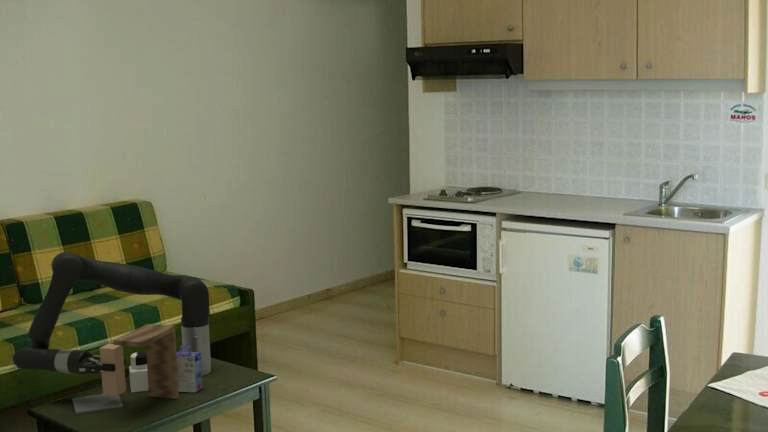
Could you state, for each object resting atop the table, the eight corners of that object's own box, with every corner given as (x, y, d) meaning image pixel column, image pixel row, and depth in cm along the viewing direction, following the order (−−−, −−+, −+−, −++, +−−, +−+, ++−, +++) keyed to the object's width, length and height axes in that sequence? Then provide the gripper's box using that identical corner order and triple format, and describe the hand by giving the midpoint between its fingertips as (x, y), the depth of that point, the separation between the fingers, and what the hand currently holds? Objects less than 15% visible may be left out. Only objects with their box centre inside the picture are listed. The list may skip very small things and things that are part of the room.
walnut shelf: (118, 415, 279) (113, 340, 276) (151, 394, 297) (147, 324, 294) (146, 418, 276) (142, 342, 273) (178, 397, 294) (175, 325, 291)
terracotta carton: (103, 394, 286) (99, 348, 284) (112, 389, 291) (108, 343, 289) (117, 395, 285) (113, 349, 283) (126, 390, 290) (122, 344, 287)
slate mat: (72, 400, 293) (72, 398, 293) (117, 393, 299) (117, 391, 299) (76, 414, 281) (75, 412, 281) (123, 407, 286) (123, 405, 286)
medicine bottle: (152, 383, 308) (150, 349, 306) (153, 390, 301) (151, 354, 300) (130, 386, 306) (128, 351, 304) (131, 392, 299) (129, 357, 297)
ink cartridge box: (203, 387, 303) (201, 345, 301) (196, 393, 298) (194, 349, 295) (175, 386, 305) (173, 344, 303) (168, 391, 300) (165, 348, 297)
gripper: (58, 356, 284) (105, 360, 279) (86, 343, 297) (132, 346, 292) (60, 380, 285) (107, 384, 280) (87, 366, 298) (133, 369, 293)
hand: (119, 365), depth 286 cm, fingers closed on terracotta carton, 5 cm apart
